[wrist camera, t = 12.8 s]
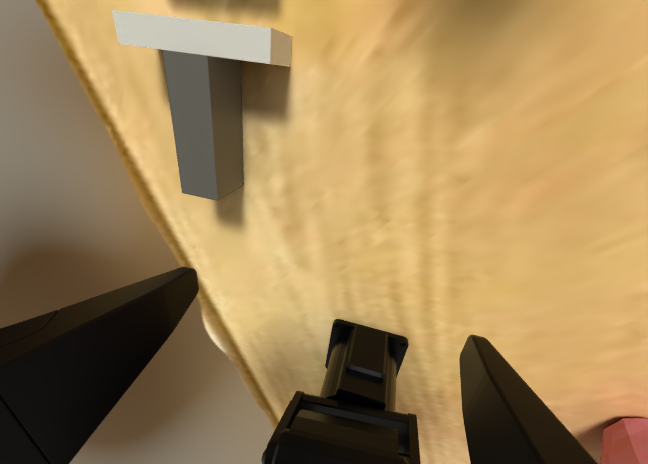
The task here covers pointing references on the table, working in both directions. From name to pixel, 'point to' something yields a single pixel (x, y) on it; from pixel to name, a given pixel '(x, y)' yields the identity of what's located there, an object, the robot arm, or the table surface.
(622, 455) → the apple
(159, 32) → the pusher
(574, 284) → the table surface
